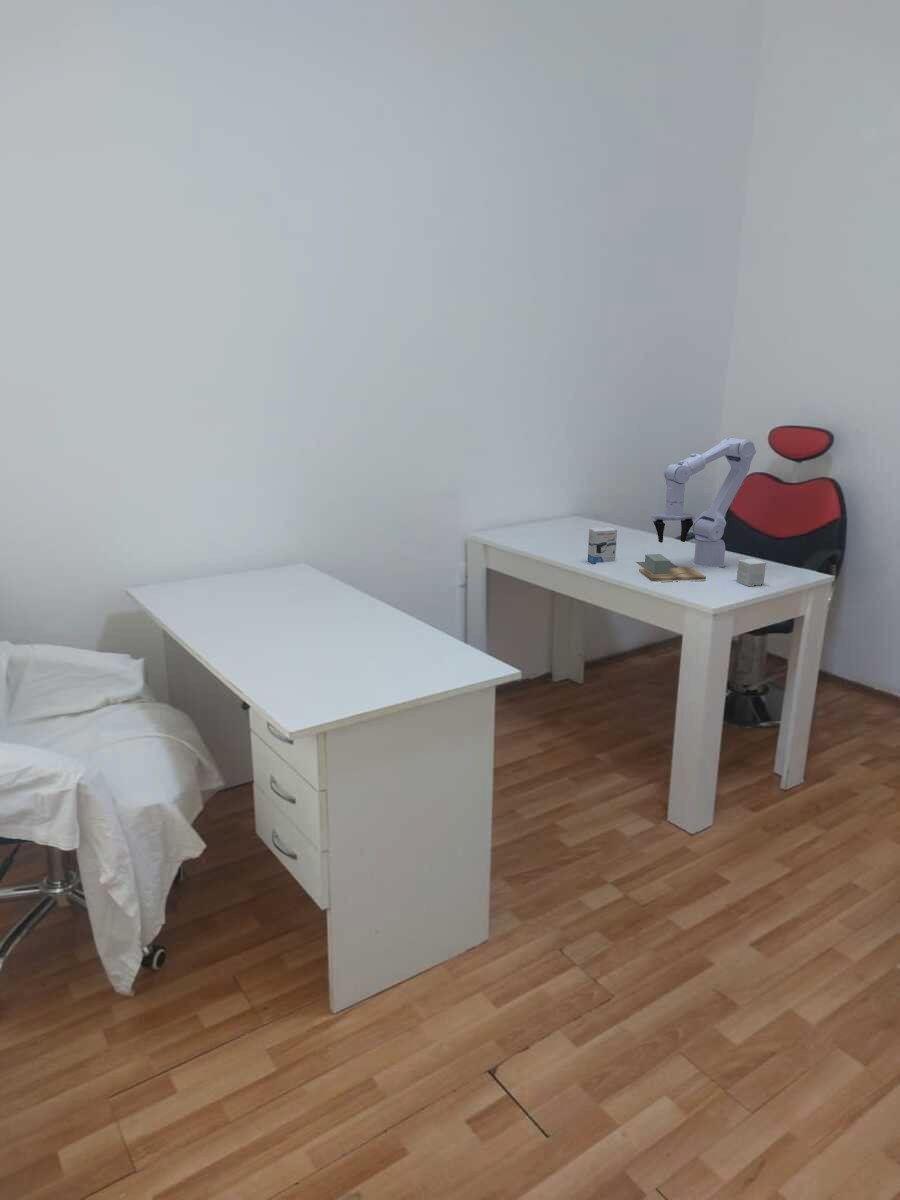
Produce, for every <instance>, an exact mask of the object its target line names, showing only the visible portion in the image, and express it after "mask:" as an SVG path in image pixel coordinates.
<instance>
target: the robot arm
mask: <svg viewBox="0 0 900 1200" xmlns="http://www.w3.org/2000/svg"><path fill="white" fill-rule="evenodd" d="M756 453H757V450H756V447H755V443H754V442H753V441H752V440H751V439H742V438H736V437H734V436H729V437H726V438H725V439H722V440H721V441H720V443H718V444H716V445H715V446H713V447H712V448H709V450H706V451H705V452H703V453H702V454H700V453H691V454H690V455H689V457H687V458H685V459H683V460H679V461H678V463H676V464H675V463H671V464H669V465H668V466H667V467H666V468H665V471H664V472H663V477H664V480H665V483H666V484H665V486H666V492H665V493H666V494H665V495H666V497H665V508H664V512H662V513H655V514H653V513H652V514H651V517H650V519H651V521H652V522H653V525H654V527H655V530H656V534H657V539H658V540H657V541H658V543H663V541H664V532H665V527H666V523H665V521H666V522H667V521H680V527H681V529H680V542H682V543H685V542H686V538H687V536H688V534H689V531H690V530H692V533H693V535H694V538H695V547H694V557H693V558H694V559H693V560H689V562H690V563H691V564H692V565H694V566H696V567H697V568H701V567H702V568H703V567H705V568H707V567H718V568H725V557H726V556H725V554H726V544H725V541H724V540H723V539H721V538H722V537H723V536H724V532H725V528H726V525H727V521H726V519H725V515H726V513H727V512H728V509H729V508H730V506H731V505H732V502H733V500H734V499H735V496H736V495H737V493H738V492H739V489H740V487H741V486H742V485H743V482H744V480H745V478H746V477H747V475H748V473H749V470H750V468H751V465H752V460H753V459H754V456H755V455H756ZM722 457H725V459H726V460H727V462H728V464H729V466H730V470H729V472H728V474H727V475H726V477H725V478H724V480H723V482H722V484H721V486H720V488H719V490H718V492H717V493H716V495H715V497H714V499H713V500H712V502H711V505H710V506H709V509H707V510H705V511H703V512H701V513H700V514H699V516H698V517H697V516H696V513H686V512H685V513H684V501H685V491H686V488H685V487H686V483H688V481H689V480H690V478H691V477H692V476H694V475H696V474H698V473H700V472H702V471H703V470H705V468H706V465H707V464H709V463H711V462H714V461H716V460H718V459H720V458H722ZM696 517H697V518H696Z"/></svg>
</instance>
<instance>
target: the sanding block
mask: <svg viewBox="0 0 900 1200" xmlns="http://www.w3.org/2000/svg"><path fill="white" fill-rule="evenodd" d="M644 555H645V556H644V562H645V568H643V569H645V570H646V571H647V572H649V573H650V574H651V575H653V576H669V567H670V562H671V560H670V559H669V558H667V557H666V556H664V555H662V553H661V554H660V553H653V554H652V553H650V554H648V553H647V554H644Z"/></svg>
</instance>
